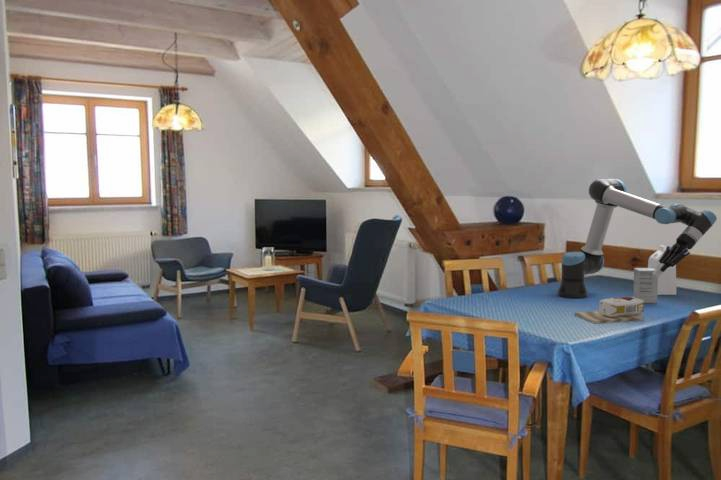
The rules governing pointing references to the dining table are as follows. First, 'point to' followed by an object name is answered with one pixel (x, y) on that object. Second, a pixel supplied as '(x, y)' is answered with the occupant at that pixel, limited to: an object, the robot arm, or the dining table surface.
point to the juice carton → (621, 306)
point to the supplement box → (645, 285)
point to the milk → (663, 274)
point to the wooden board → (606, 317)
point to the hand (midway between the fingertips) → (655, 275)
